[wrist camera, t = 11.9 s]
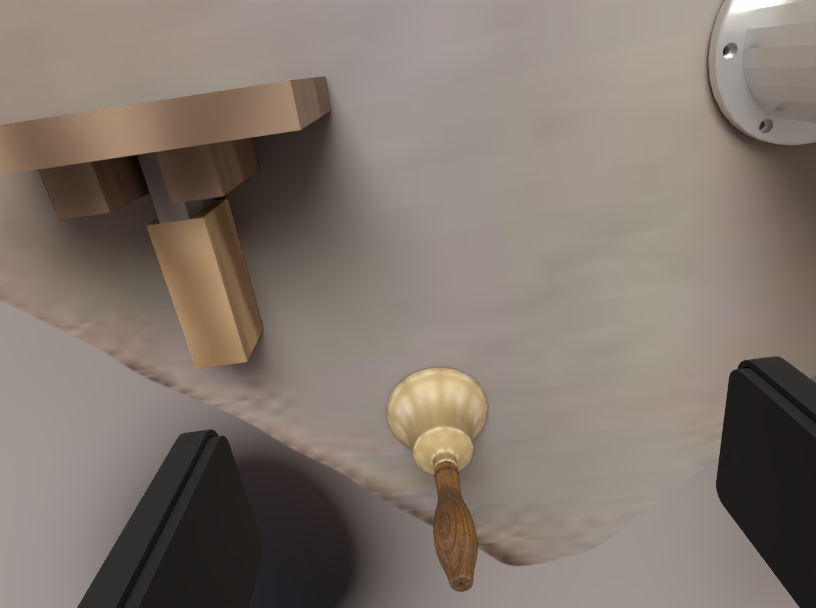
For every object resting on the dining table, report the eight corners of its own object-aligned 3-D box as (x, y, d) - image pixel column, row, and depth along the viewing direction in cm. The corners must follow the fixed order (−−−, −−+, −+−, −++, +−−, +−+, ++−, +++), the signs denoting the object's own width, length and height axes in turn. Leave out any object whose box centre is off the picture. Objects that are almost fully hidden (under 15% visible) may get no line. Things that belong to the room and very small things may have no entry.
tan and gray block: (210, 138, 35) (182, 148, 30) (263, 328, 40) (247, 362, 36) (158, 145, 35) (122, 157, 30) (218, 334, 40) (196, 368, 36)
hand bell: (504, 385, 43) (561, 549, 28) (462, 462, 46) (494, 645, 31) (409, 352, 41) (416, 507, 27) (372, 434, 44) (360, 613, 30)
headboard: (325, 76, 33) (290, 80, 22) (340, 157, 35) (315, 198, 24) (17, 124, 34) (-164, 150, 23) (49, 200, 36) (-103, 258, 25)
